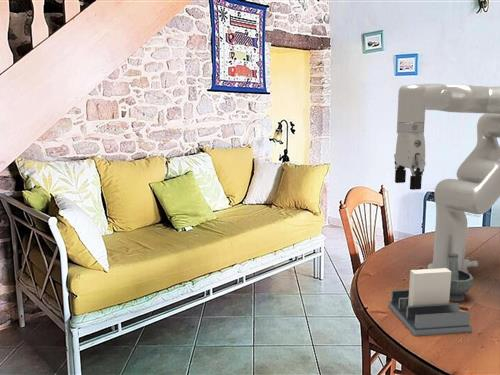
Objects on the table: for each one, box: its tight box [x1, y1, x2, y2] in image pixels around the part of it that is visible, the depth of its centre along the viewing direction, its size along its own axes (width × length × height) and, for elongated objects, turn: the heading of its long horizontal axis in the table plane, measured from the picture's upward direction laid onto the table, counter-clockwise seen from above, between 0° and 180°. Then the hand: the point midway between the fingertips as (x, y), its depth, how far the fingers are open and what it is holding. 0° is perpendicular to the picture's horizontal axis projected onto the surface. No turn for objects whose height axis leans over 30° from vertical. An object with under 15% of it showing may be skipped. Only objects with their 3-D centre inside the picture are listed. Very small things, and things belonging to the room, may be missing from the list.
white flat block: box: [408, 268, 451, 306], centre depth 117 cm, size 2×10×12 cm, turn 96°
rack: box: [388, 288, 473, 337], centre depth 118 cm, size 16×15×5 cm
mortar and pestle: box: [448, 253, 474, 302], centre depth 131 cm, size 11×9×12 cm
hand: (407, 185), depth 133 cm, fingers open, 9 cm apart
